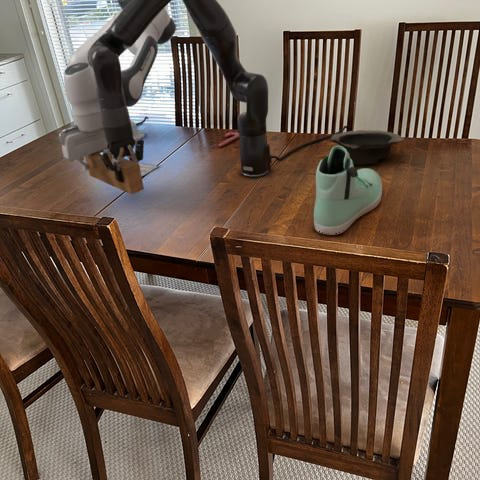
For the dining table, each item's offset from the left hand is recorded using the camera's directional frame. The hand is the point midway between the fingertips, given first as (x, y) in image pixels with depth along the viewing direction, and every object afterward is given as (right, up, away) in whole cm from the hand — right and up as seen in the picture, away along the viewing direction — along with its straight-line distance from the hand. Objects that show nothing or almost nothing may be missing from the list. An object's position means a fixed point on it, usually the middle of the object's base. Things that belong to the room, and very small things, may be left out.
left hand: (99, 164), depth 151 cm
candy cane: (+39, +16, +44) cm, 61 cm away
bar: (+6, -6, -3) cm, 9 cm away
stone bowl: (+89, +6, +21) cm, 91 cm away
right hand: (+11, -6, -10) cm, 16 cm away
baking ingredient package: (+7, 0, +22) cm, 23 cm away
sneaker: (+76, -15, -12) cm, 78 cm away
